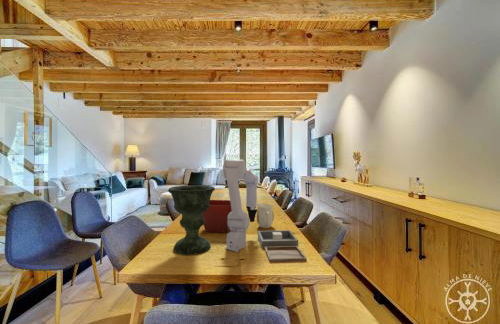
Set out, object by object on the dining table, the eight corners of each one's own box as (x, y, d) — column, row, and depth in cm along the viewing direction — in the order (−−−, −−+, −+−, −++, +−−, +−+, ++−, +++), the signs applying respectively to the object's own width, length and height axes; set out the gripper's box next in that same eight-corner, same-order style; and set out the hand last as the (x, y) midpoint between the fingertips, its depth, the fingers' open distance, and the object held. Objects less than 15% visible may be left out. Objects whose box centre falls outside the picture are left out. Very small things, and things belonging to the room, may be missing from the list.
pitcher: (259, 231, 165) (259, 208, 165) (254, 223, 183) (254, 203, 182) (277, 230, 167) (277, 208, 166) (270, 223, 184) (270, 202, 184)
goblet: (222, 244, 141) (222, 186, 140) (199, 259, 120) (198, 191, 119) (187, 239, 149) (186, 184, 149) (158, 252, 128) (158, 189, 128)
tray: (306, 262, 117) (306, 258, 117) (269, 264, 116) (269, 259, 115) (297, 249, 133) (297, 245, 133) (264, 250, 131) (264, 246, 131)
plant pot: (236, 226, 177) (236, 200, 177) (231, 234, 158) (231, 205, 158) (207, 225, 179) (207, 199, 179) (198, 233, 160) (198, 204, 160)
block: (282, 243, 141) (282, 234, 141) (273, 243, 141) (273, 234, 140) (280, 240, 145) (280, 232, 145) (272, 240, 145) (272, 232, 145)
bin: (298, 248, 135) (298, 240, 135) (261, 249, 133) (261, 241, 133) (290, 237, 153) (290, 230, 153) (257, 238, 151) (257, 230, 151)
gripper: (260, 197, 146) (260, 223, 147) (257, 194, 161) (257, 217, 161) (246, 198, 146) (246, 223, 146) (245, 194, 160) (245, 217, 160)
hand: (251, 220), depth 153 cm, fingers open, 7 cm apart
